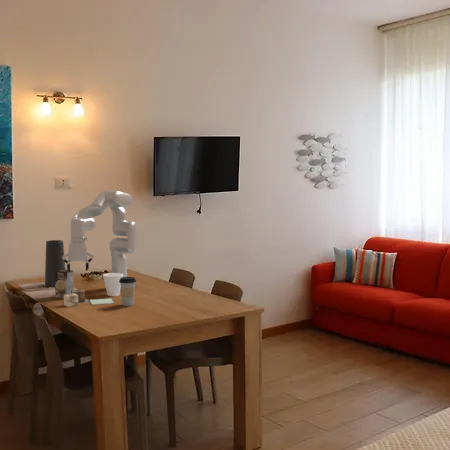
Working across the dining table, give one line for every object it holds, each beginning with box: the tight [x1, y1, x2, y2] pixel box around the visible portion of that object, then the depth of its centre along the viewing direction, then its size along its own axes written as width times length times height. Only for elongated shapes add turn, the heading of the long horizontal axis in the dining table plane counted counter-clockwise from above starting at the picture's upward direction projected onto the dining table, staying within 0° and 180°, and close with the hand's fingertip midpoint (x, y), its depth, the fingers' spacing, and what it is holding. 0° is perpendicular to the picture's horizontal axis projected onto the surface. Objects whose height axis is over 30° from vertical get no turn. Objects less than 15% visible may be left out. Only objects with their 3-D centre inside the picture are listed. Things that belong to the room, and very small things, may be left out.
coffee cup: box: [119, 276, 137, 307], centre depth 334 cm, size 9×9×15 cm
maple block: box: [63, 294, 79, 308], centre depth 333 cm, size 6×6×6 cm
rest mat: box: [89, 298, 115, 306], centre depth 341 cm, size 12×12×1 cm
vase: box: [44, 239, 66, 288], centre depth 390 cm, size 14×14×29 cm
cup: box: [102, 272, 123, 297], centre depth 360 cm, size 12×12×12 cm
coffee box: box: [54, 268, 75, 300], centre depth 353 cm, size 9×6×16 cm
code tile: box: [78, 298, 90, 304], centre depth 343 cm, size 10×10×1 cm
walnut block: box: [73, 289, 86, 302], centre depth 343 cm, size 6×6×6 cm
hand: (77, 270), depth 341 cm, fingers open, 9 cm apart
